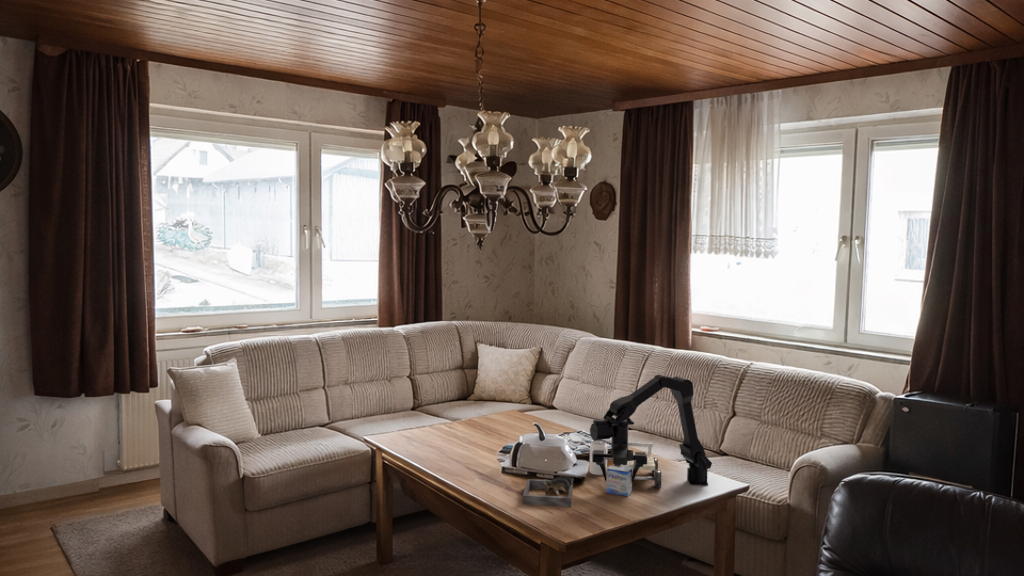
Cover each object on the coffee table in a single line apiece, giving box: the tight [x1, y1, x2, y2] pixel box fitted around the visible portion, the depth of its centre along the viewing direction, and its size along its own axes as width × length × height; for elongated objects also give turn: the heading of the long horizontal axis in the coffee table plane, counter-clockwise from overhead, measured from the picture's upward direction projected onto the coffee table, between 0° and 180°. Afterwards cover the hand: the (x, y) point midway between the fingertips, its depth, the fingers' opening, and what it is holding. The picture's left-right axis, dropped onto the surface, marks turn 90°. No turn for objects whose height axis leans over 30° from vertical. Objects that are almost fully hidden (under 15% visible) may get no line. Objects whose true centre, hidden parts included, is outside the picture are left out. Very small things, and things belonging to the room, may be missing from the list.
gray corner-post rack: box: [613, 441, 662, 488], centre depth 261 cm, size 16×20×12 cm
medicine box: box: [606, 465, 633, 497], centre depth 248 cm, size 8×4×9 cm, turn 64°
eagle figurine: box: [542, 475, 574, 496], centre depth 246 cm, size 8×7×9 cm
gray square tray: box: [522, 478, 574, 508], centre depth 243 cm, size 16×16×3 cm
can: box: [589, 439, 608, 476], centre depth 268 cm, size 6×6×12 cm
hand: (619, 481), depth 248 cm, fingers open, 9 cm apart
